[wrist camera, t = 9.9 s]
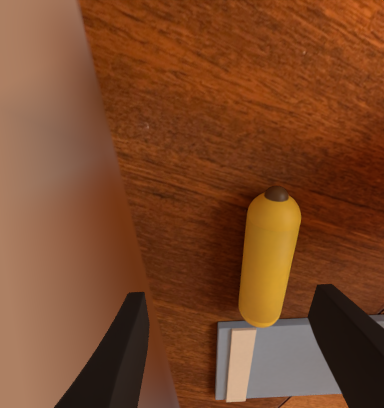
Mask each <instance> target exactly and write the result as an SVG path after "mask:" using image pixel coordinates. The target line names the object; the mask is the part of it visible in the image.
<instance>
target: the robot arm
mask: <svg viewBox="0 0 384 408" xmlns="http://www.w3.org/2000/svg"><path fill="white" fill-rule="evenodd" d="M308 320H309V323H310V326H311V329H312V331H313V334H314V337H315V339H316V342H317V344H318V346H319V348H320V350H321V352H322V355H323V357H324V359H325V361H326V363H327V365H328V367H329V369H330V371H331V373H332V375H333V377H334V379H335V381H336V383H337V385H338V387H339V389H340V391H341V393H342V395H343V397H344V399H345V401H346V403H347V405H348V407H349V408H384V328H383V327H382V326H381V325H379V324H378V323H377V322H376V321H375V320H373V319H372V318H371V317H370V316H369V315H367V314H366V313H365V312H364V311H363V310H362V309H360V308H359V307H358V306H357V305H356V304H355V303H353V302H352V301H351V300H350V299H349V298H348V297H347V296H345V295H344V294H343V293H342V292H341V291H340V290H338V289H337V288H336V287H335V286H334V285H332V284H320V285H317V287H316V290H315V294H314V297H313V301H312V304H311V307H310V311H309V314H308ZM148 337H149V318H148V312H147V305H146V300H145V293H144V292H132V293H129V294H127V296H126V298H125V301H124V302H123V304H122V306H121V308H120V310H119V312H118V314H117V316H116V317H115V319H114V321H113V323H112V324H111V326H110V328H109V329H108V331H107V333H106V334H105V336H104V337H103V339H102V341H101V342H100V344H99V346H98V347H97V349H96V350H95V352H94V353H93V355H92V356H91V358H90V359H89V361H88V362H87V364H86V365H85V367H84V368H83V369H82V371H81V372H80V374H79V375H78V377H77V378H76V379H75V381H74V382H73V383H72V385H71V386H70V388H69V389H68V390H67V391H66V393H65V394H64V395H63V397H62V398H61V399H60V400H59V402H58V403H57V404H56V405H55V407H54V408H137V406H138V401H139V395H140V389H141V383H142V378H143V373H144V367H145V361H146V356H147V349H148Z"/></svg>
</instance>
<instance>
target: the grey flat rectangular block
mask: <svg viewBox="0 0 384 408" xmlns="http://www.w3.org/2000/svg"><path fill="white" fill-rule="evenodd" d="M369 316H370V317H371V318H372V319H373V320H375V321H376V322H377V323H378V324H379V325H381V326H382V327H383V328H384V315H369ZM322 394H341V391H340V389H339V387H338V385H337V383H336V381H335V379H334V377H333V375H332V373H331V371H330V369H329V367H328V365H327V363H326V361H325V359H324V357H323V355H322V352H321V350H320V348H319V346H318V344H317V342H316V339H315V337H314V334H313V331H312V329H311V326H310V323H309V320H308V318H296V319H278V320H277V321H276V322H275V323H274V324H273V325H271V326H269V327H265V328H259V327H255V326H252V325H251V324H249V323H248V322H247V321H229V322H218V329H217V353H216V378H215V399H216V400H222V399H226V402H240V401H245V400H246V398H262V397H282V396H302V395H322Z"/></svg>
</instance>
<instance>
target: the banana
mask: <svg viewBox="0 0 384 408" xmlns="http://www.w3.org/2000/svg"><path fill="white" fill-rule="evenodd" d="M300 223H301V212H300V209H299V206H298V204H297V203H296V202H295V200H294V199H293V198H292V197H290V196H289V195H288V192H287V191H286V189H284V188H283V187H281V186H272V187H270V188H268V189H267V190H266V192H264V193H262V194H260V195H258V196H257V197H256V198H255V199H254V200H253V201H252V202H251V204H250V206H249V208H248V212H247V219H246V230H245V240H244V250H243V261H242V271H241V282H240V292H239V310H240V313H241V315H242V317H243V318H244V319H245V320H246V321H247V322H248V323H249V324H251V325H252V326H255V327H259V328H265V327H269V326H271V325H273V324H274V323H275V322H276V321H277V320H278V318H279V316H280V314H281V310H282V305H283V300H284V296H285V291H286V287H287V282H288V278H289V273H290V269H291V264H292V259H293V255H294V250H295V246H296V241H297V237H298V232H299V228H300Z"/></svg>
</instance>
